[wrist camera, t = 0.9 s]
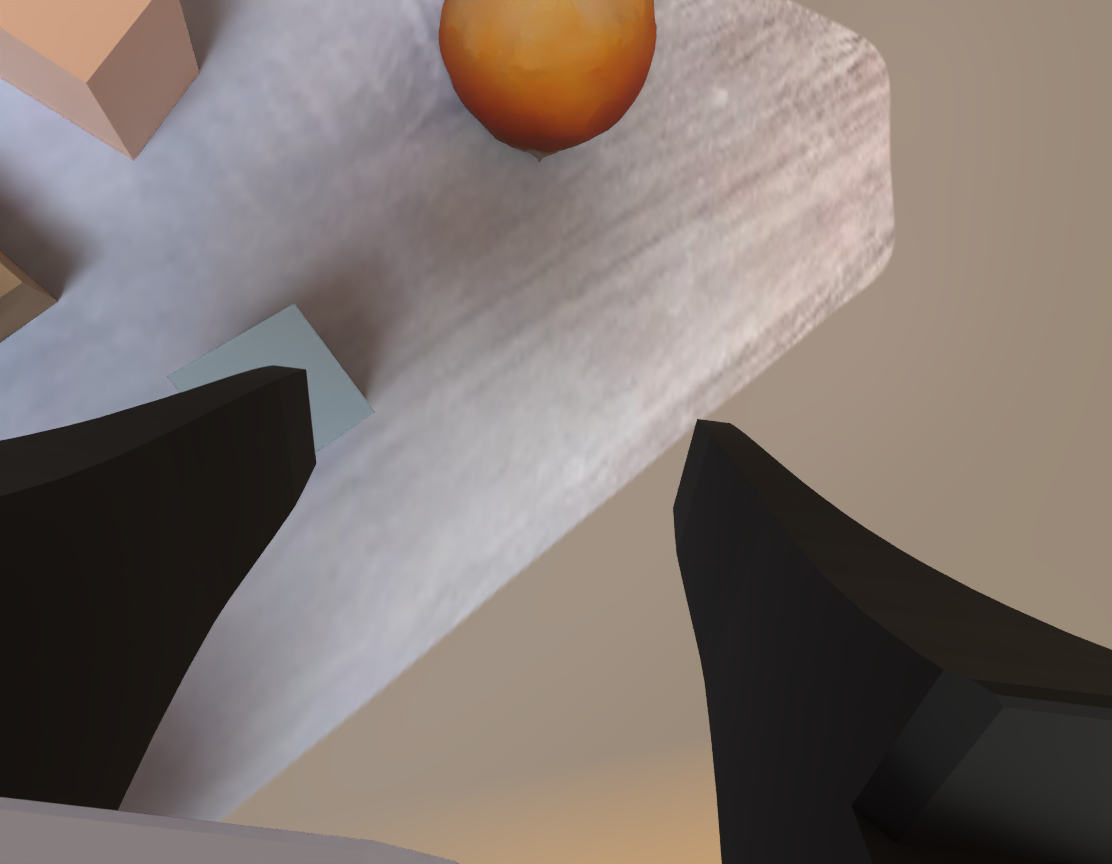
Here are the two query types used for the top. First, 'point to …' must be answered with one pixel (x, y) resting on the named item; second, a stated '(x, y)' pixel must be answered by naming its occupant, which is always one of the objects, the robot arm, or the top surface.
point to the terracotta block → (100, 62)
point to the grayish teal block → (288, 346)
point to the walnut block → (19, 298)
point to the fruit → (547, 65)
